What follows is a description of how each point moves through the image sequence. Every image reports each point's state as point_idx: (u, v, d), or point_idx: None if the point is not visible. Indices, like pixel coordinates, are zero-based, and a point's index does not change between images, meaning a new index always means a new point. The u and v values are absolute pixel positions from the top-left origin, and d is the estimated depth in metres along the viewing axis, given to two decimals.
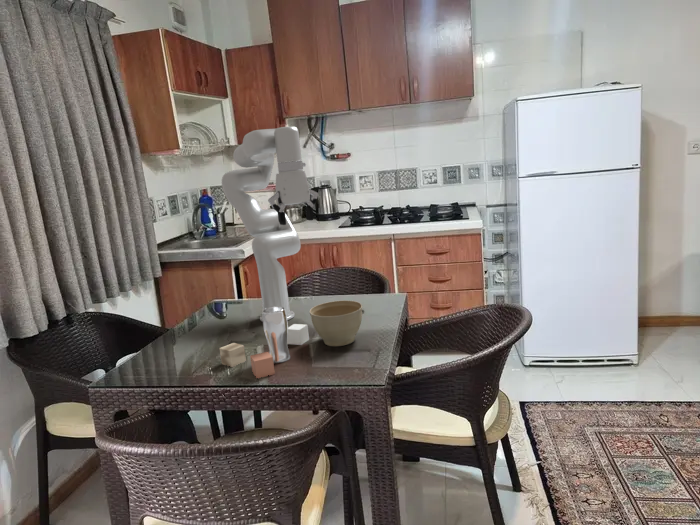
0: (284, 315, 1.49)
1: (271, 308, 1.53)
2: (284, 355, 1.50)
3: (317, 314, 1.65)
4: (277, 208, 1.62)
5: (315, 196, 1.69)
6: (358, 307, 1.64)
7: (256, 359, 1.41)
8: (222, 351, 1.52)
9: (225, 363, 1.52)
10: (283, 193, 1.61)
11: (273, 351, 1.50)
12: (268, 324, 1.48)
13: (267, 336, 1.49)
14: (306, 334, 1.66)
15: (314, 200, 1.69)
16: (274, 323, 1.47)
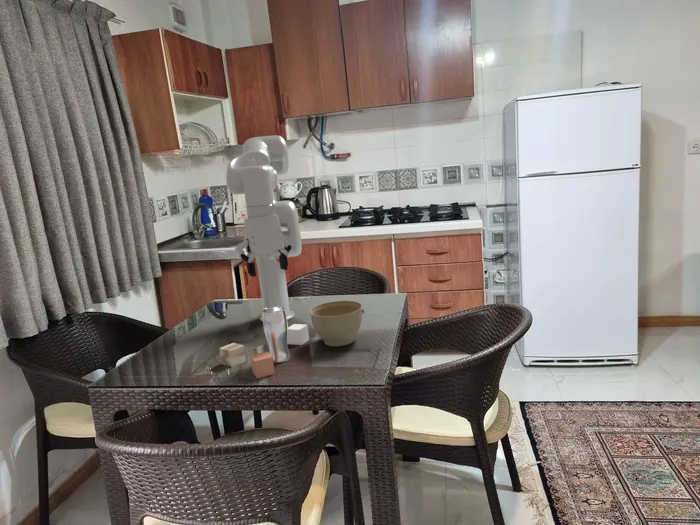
0: (284, 315, 1.49)
1: (271, 308, 1.53)
2: (284, 355, 1.50)
3: (317, 314, 1.65)
4: (245, 258, 1.42)
5: (290, 242, 1.50)
6: (358, 307, 1.64)
7: (256, 359, 1.41)
8: (222, 351, 1.52)
9: (225, 363, 1.52)
10: (252, 241, 1.42)
11: (273, 351, 1.50)
12: (268, 324, 1.48)
13: (267, 336, 1.49)
14: (306, 334, 1.66)
15: (289, 247, 1.49)
16: (274, 323, 1.47)
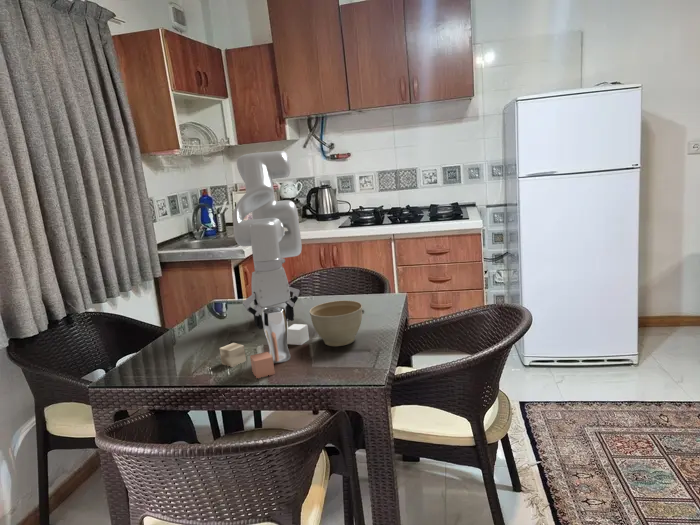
0: (284, 315, 1.49)
1: (271, 308, 1.53)
2: (284, 355, 1.50)
3: (317, 314, 1.65)
4: (253, 311, 1.45)
5: (296, 294, 1.53)
6: (358, 307, 1.64)
7: (256, 359, 1.41)
8: (222, 351, 1.52)
9: (225, 363, 1.52)
10: (259, 295, 1.45)
11: (273, 351, 1.50)
12: (268, 324, 1.48)
13: (267, 336, 1.49)
14: (306, 334, 1.66)
15: (295, 298, 1.52)
16: (274, 323, 1.47)
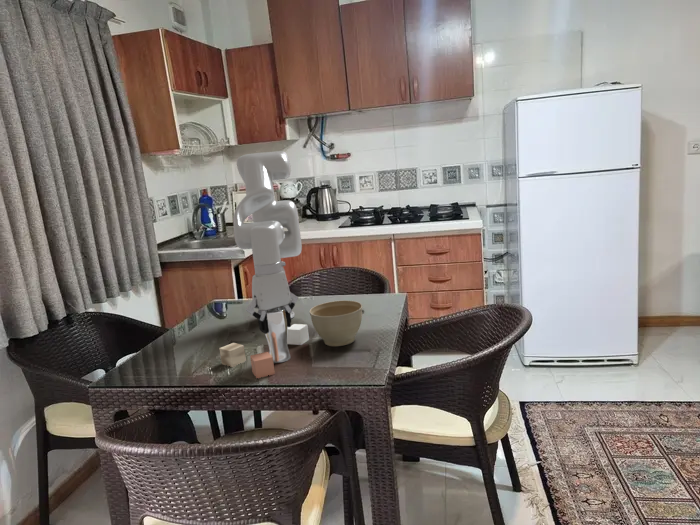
0: (284, 315, 1.49)
1: None
2: (284, 355, 1.50)
3: (317, 314, 1.65)
4: (257, 316, 1.47)
5: (294, 300, 1.53)
6: (358, 307, 1.64)
7: (256, 359, 1.41)
8: (222, 351, 1.52)
9: (225, 363, 1.52)
10: (260, 299, 1.45)
11: (273, 351, 1.50)
12: (268, 324, 1.48)
13: (267, 336, 1.49)
14: (306, 334, 1.66)
15: (292, 304, 1.52)
16: (274, 323, 1.47)
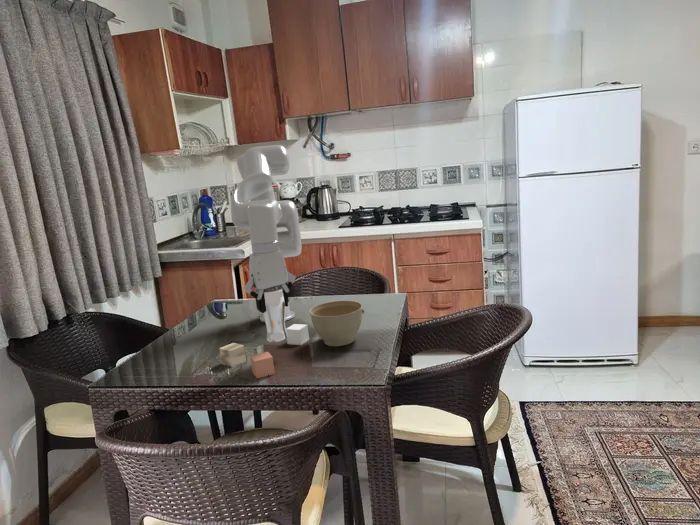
0: (281, 294, 1.48)
1: None
2: (281, 334, 1.50)
3: (317, 314, 1.65)
4: (255, 295, 1.46)
5: (291, 279, 1.52)
6: (358, 307, 1.64)
7: (256, 359, 1.41)
8: (222, 351, 1.52)
9: (225, 363, 1.52)
10: (257, 278, 1.44)
11: (270, 330, 1.50)
12: (265, 303, 1.47)
13: (264, 315, 1.49)
14: (306, 334, 1.66)
15: (289, 284, 1.52)
16: (271, 302, 1.47)
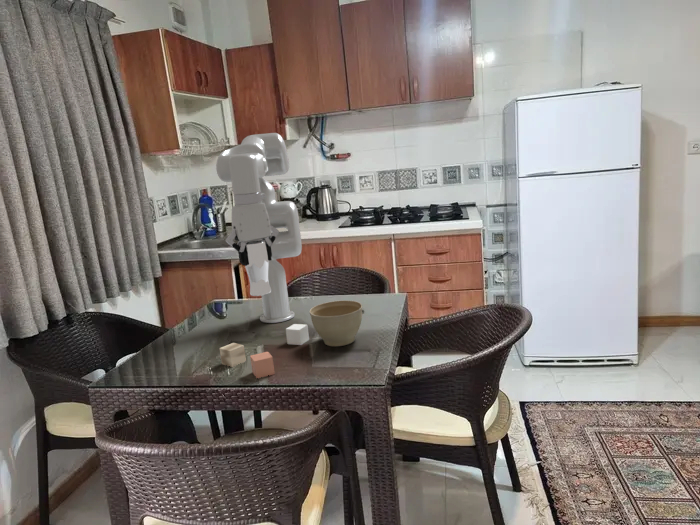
0: (264, 247, 1.47)
1: (252, 242, 1.51)
2: (265, 288, 1.49)
3: (317, 314, 1.65)
4: (237, 248, 1.45)
5: (275, 234, 1.51)
6: (358, 307, 1.64)
7: (256, 359, 1.41)
8: (222, 351, 1.52)
9: (225, 363, 1.52)
10: (239, 229, 1.43)
11: (253, 284, 1.49)
12: (248, 256, 1.46)
13: (247, 269, 1.48)
14: (306, 334, 1.66)
15: (273, 238, 1.51)
16: (254, 255, 1.46)
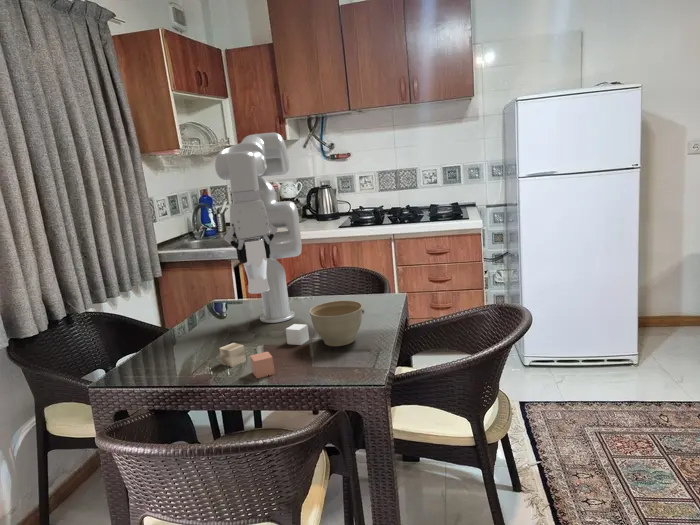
0: (263, 245, 1.47)
1: (250, 239, 1.51)
2: (263, 286, 1.49)
3: (317, 314, 1.65)
4: (235, 245, 1.45)
5: (273, 231, 1.51)
6: (358, 307, 1.64)
7: (256, 359, 1.41)
8: (222, 351, 1.52)
9: (225, 363, 1.52)
10: (237, 226, 1.43)
11: (252, 282, 1.48)
12: (246, 253, 1.46)
13: (245, 266, 1.48)
14: (306, 334, 1.66)
15: (271, 236, 1.51)
16: (252, 252, 1.46)
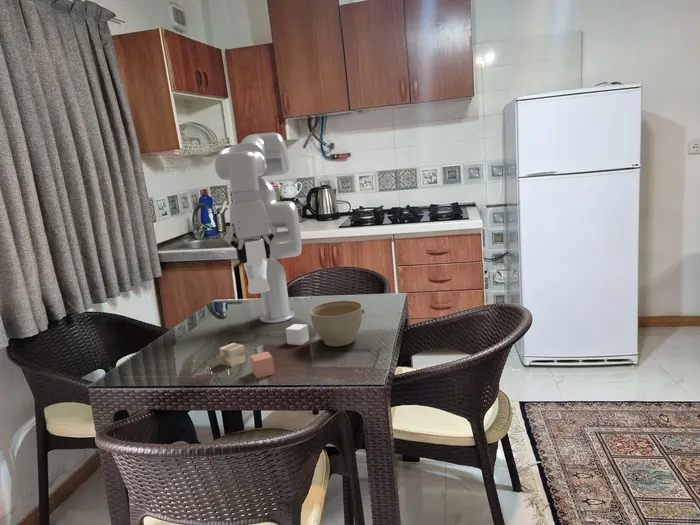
0: (263, 245, 1.47)
1: (250, 239, 1.51)
2: (263, 286, 1.49)
3: (317, 314, 1.65)
4: (235, 245, 1.45)
5: (273, 231, 1.51)
6: (358, 307, 1.64)
7: (256, 359, 1.41)
8: (222, 351, 1.52)
9: (225, 363, 1.52)
10: (237, 226, 1.43)
11: (252, 282, 1.48)
12: (246, 253, 1.46)
13: (245, 266, 1.48)
14: (306, 334, 1.66)
15: (271, 236, 1.51)
16: (252, 252, 1.46)
